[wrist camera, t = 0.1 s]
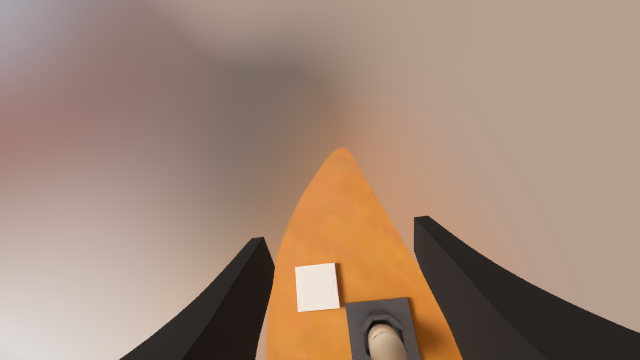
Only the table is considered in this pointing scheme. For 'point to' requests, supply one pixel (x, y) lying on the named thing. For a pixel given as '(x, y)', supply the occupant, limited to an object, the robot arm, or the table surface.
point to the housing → (380, 310)
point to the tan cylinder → (385, 342)
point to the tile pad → (317, 287)
